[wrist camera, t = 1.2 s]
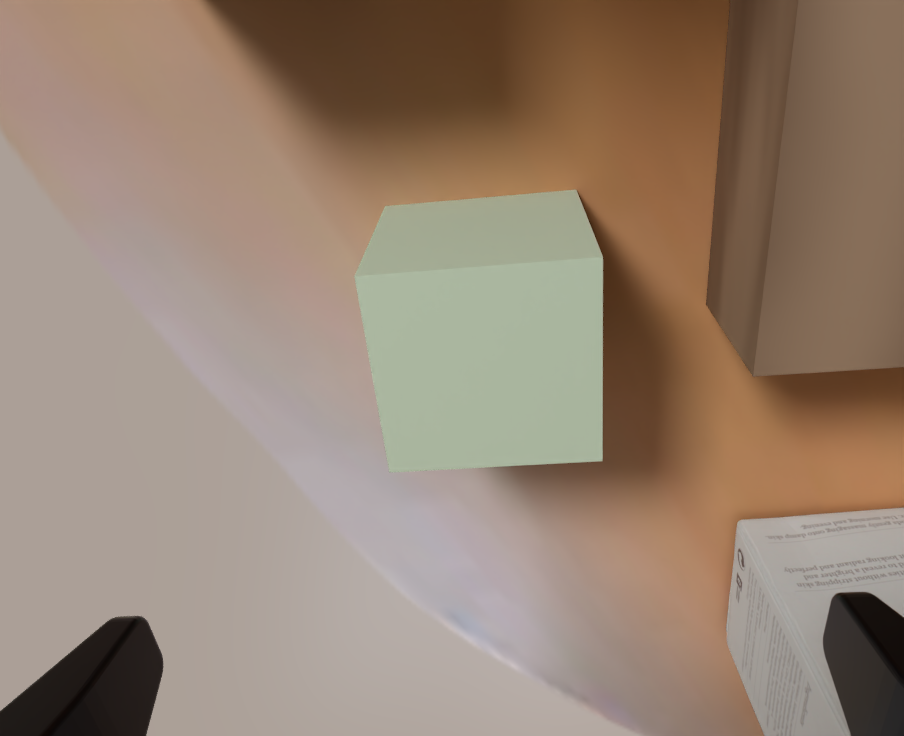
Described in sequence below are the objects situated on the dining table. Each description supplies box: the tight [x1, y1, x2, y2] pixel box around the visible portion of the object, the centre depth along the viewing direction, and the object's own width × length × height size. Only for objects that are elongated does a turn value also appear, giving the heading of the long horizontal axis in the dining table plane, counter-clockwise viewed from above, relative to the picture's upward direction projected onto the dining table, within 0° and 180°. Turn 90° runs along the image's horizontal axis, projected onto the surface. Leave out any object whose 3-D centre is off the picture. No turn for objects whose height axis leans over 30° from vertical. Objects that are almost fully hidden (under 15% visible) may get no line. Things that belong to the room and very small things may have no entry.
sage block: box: [354, 190, 603, 473], centre depth 18 cm, size 5×5×5 cm
